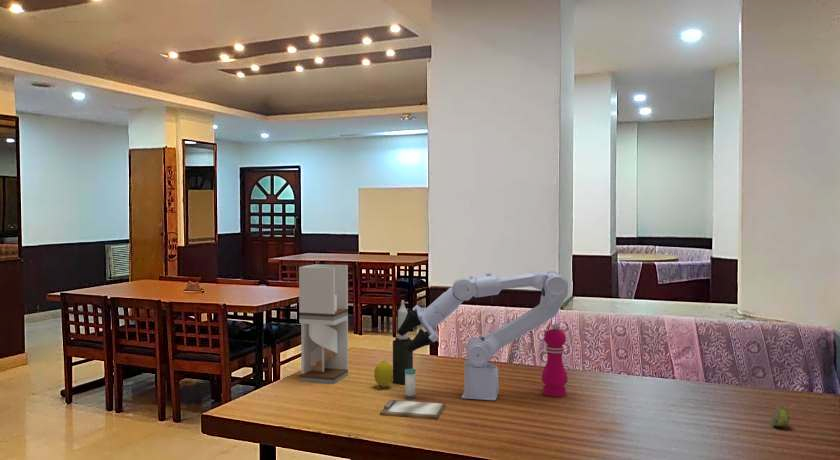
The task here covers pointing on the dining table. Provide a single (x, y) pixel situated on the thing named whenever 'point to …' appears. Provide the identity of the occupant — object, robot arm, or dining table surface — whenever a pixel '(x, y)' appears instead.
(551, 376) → the pepper mill
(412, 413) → the clipboard
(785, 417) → the lime
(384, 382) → the lemon
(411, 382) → the marker
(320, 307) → the white tiered tower model
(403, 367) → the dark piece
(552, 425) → the dining table surface
